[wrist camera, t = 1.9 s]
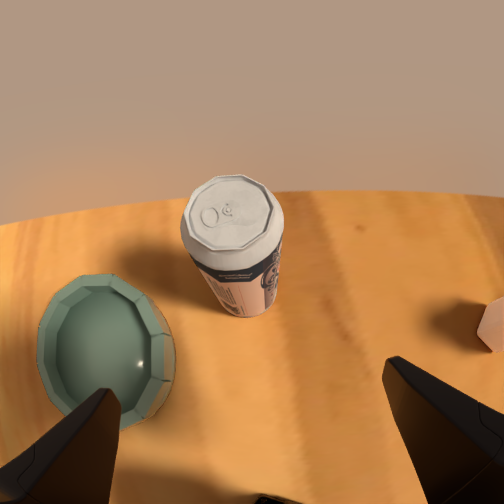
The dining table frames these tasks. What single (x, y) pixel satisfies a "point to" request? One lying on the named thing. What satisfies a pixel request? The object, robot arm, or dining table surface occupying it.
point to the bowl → (106, 347)
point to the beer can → (236, 241)
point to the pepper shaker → (493, 326)
